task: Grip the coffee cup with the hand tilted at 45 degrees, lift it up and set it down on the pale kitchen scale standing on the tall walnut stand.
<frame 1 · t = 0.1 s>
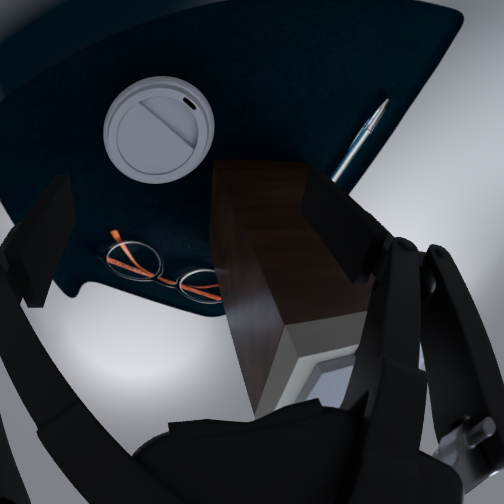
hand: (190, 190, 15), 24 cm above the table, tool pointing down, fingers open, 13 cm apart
scale: (344, 364, 23), resting on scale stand
coffee cup: (162, 108, 32), on the table
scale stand: (257, 203, 44), on the table
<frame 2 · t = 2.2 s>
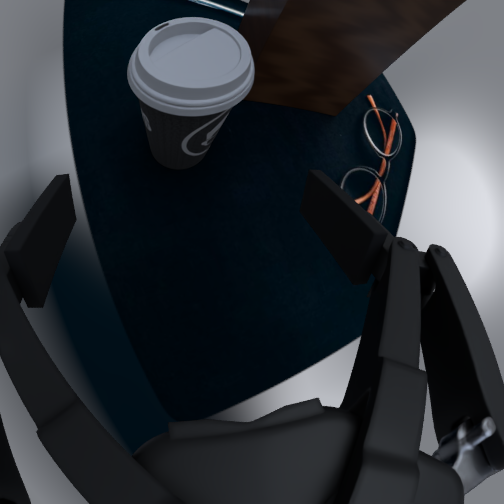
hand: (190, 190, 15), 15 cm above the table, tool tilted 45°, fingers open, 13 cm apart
coffee cup: (179, 144, 31), on the table
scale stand: (285, 70, 36), on the table
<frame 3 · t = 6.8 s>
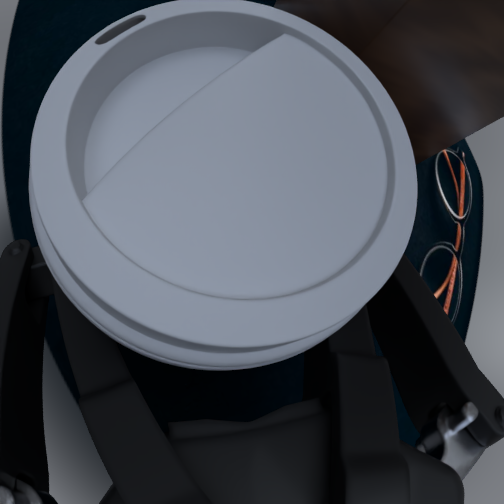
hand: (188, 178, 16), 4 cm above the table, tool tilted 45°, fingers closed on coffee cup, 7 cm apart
coffee cup: (188, 249, 19), on the table, touching gripper
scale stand: (336, 98, 25), on the table
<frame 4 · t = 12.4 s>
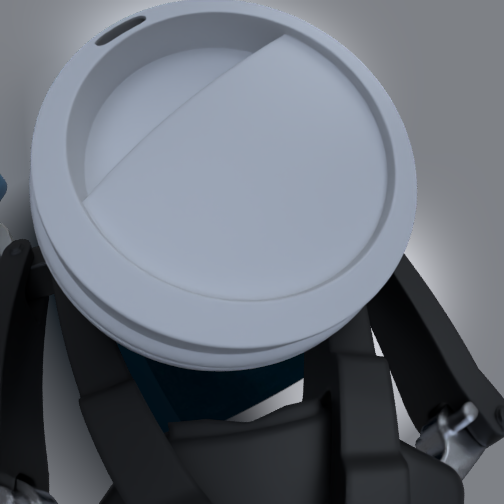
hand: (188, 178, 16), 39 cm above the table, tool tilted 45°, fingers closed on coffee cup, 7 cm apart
coffee cup: (188, 249, 19), point 35 cm above the table, touching gripper
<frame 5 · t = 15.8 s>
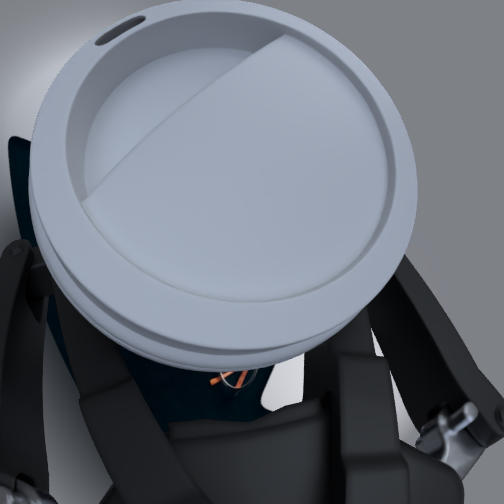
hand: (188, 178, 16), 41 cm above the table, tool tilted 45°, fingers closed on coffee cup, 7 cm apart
coffee cup: (188, 249, 19), point 38 cm above the table, touching gripper
when the fingers open (35 cm above the table, at t = 18.1 s): coffee cup stays where it is, resting on scale.
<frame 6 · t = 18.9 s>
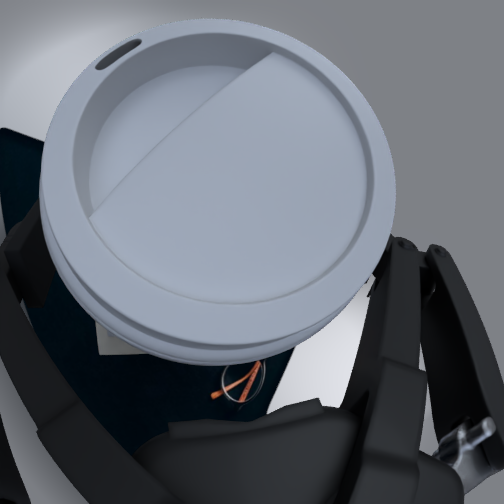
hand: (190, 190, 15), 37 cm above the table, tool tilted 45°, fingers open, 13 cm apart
scale: (185, 255, 23), resting on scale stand
coffee cup: (189, 251, 20), point 31 cm above the table, touching scale
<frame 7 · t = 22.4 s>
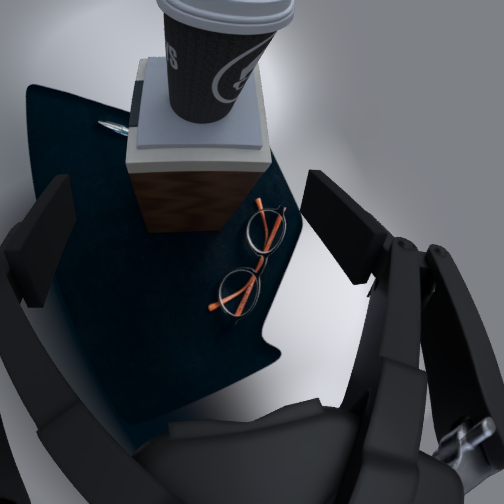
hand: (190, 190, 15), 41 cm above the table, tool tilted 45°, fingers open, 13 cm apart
scale: (197, 114, 29), resting on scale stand
coffee cup: (201, 99, 27), point 31 cm above the table, touching scale
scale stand: (183, 196, 56), on the table
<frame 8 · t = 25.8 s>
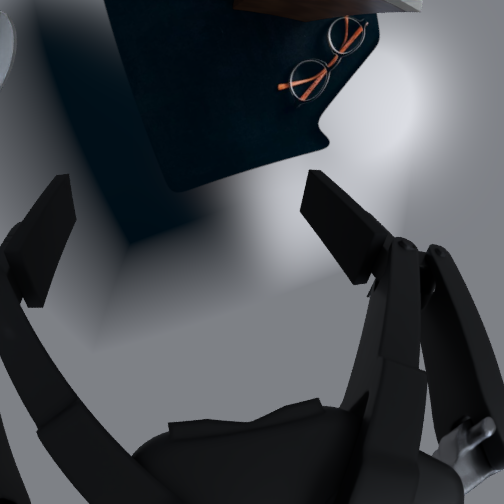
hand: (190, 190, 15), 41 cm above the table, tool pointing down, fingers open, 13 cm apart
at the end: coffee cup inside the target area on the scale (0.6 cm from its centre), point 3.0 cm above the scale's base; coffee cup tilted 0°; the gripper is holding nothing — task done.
